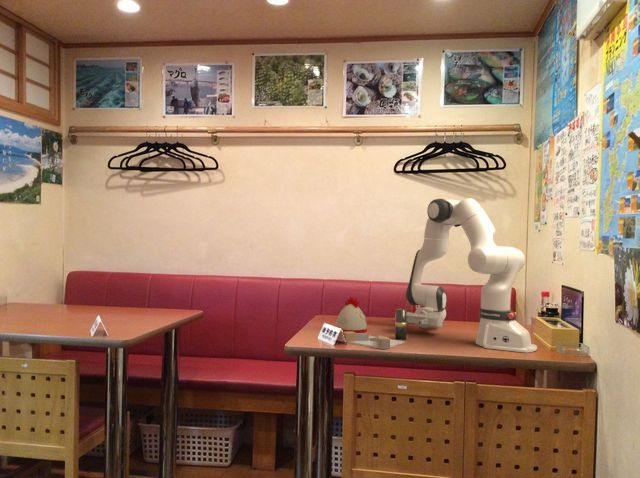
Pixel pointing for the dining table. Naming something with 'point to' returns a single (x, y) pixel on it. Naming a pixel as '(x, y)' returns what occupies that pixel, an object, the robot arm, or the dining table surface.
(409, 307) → the soda can
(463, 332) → the dining table surface
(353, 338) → the grey plate with blocks
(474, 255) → the robot arm
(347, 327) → the kitchen timer
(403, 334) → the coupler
